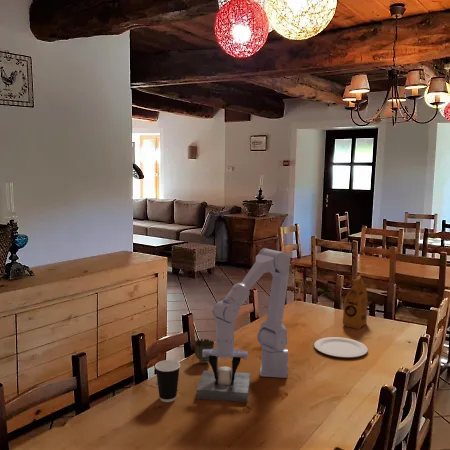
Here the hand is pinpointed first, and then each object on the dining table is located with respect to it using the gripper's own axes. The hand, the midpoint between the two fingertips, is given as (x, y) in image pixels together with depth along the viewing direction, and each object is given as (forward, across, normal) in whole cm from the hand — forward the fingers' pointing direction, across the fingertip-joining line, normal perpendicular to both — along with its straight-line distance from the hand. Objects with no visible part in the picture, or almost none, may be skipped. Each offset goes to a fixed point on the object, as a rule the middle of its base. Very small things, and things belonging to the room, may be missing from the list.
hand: (224, 378), depth 156 cm
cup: (+4, -10, +20) cm, 23 cm away
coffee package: (+4, +52, +71) cm, 88 cm away
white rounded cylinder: (+4, 0, 0) cm, 4 cm away
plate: (+4, +42, +40) cm, 58 cm away
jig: (+4, 0, 0) cm, 4 cm away
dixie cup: (+4, -17, -8) cm, 19 cm away
